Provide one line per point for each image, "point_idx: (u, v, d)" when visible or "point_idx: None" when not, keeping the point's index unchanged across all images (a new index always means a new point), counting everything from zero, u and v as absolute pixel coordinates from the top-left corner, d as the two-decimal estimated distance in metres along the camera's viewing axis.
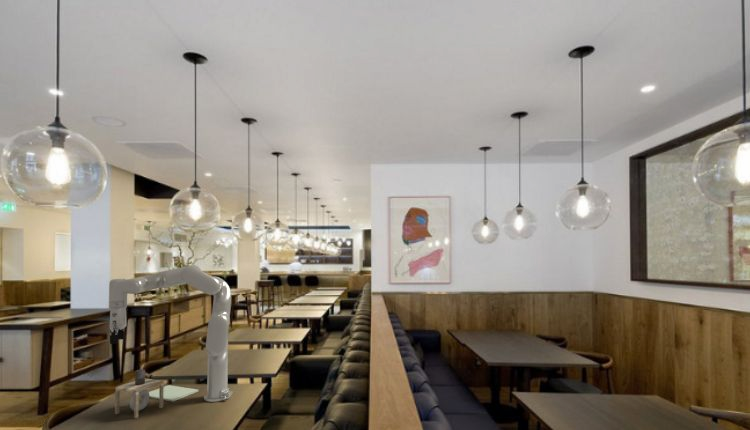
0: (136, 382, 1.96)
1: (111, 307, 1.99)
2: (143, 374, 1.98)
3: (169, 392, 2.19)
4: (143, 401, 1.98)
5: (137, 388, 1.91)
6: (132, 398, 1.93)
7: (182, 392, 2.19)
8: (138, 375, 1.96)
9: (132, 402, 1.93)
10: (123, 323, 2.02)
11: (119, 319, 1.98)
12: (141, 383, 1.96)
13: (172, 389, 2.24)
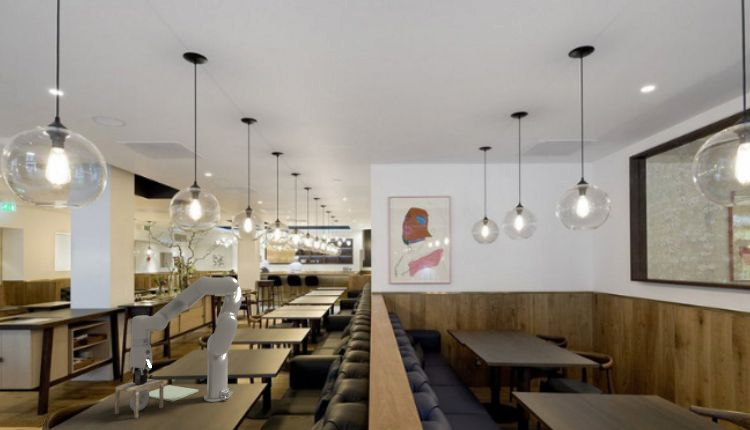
0: (136, 382, 1.96)
1: (142, 345, 1.96)
2: None
3: (169, 392, 2.19)
4: (143, 401, 1.98)
5: (137, 388, 1.91)
6: (132, 398, 1.93)
7: (182, 392, 2.19)
8: (138, 375, 1.96)
9: (132, 402, 1.93)
10: None
11: (151, 355, 1.99)
12: None
13: (172, 389, 2.24)
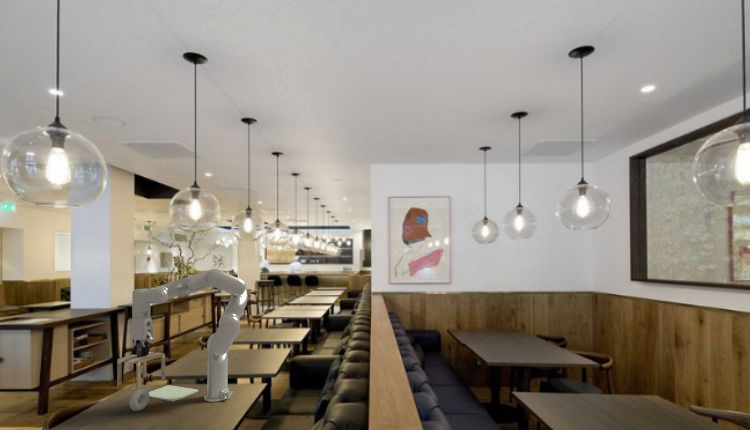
0: (138, 354, 1.97)
1: (142, 317, 1.97)
2: None
3: (169, 392, 2.19)
4: (143, 401, 1.98)
5: (139, 359, 1.92)
6: (132, 398, 1.93)
7: (182, 392, 2.19)
8: (139, 347, 1.97)
9: (132, 402, 1.93)
10: None
11: (152, 328, 2.00)
12: None
13: (172, 389, 2.24)
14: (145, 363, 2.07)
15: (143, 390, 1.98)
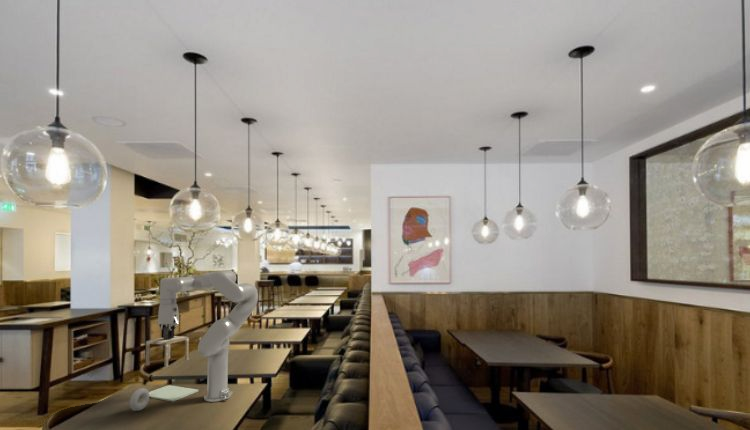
0: (164, 337, 2.17)
1: (170, 303, 2.17)
2: None
3: (169, 392, 2.19)
4: (143, 401, 1.98)
5: (166, 341, 2.12)
6: (132, 398, 1.93)
7: (182, 392, 2.19)
8: (166, 331, 2.17)
9: (132, 402, 1.93)
10: None
11: (178, 313, 2.20)
12: None
13: (172, 389, 2.24)
14: (169, 346, 2.26)
15: (143, 390, 1.98)
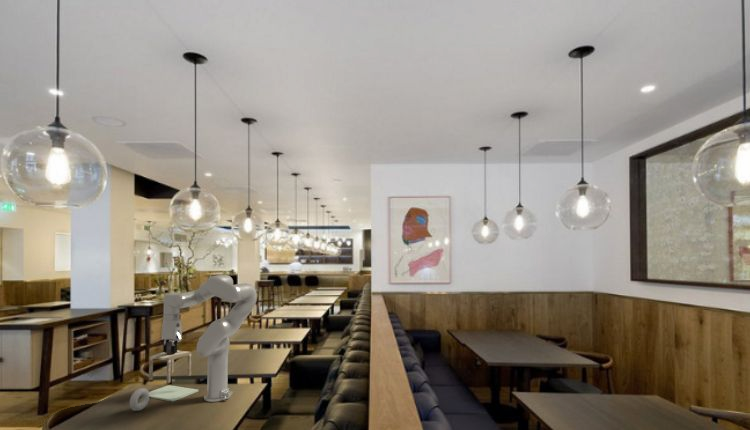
0: (167, 352, 2.19)
1: (173, 319, 2.19)
2: None
3: (169, 392, 2.19)
4: (143, 401, 1.98)
5: (169, 357, 2.14)
6: (132, 398, 1.93)
7: (182, 392, 2.19)
8: (169, 346, 2.19)
9: (132, 402, 1.93)
10: None
11: (181, 329, 2.22)
12: None
13: (172, 389, 2.24)
14: (172, 360, 2.29)
15: (143, 390, 1.98)
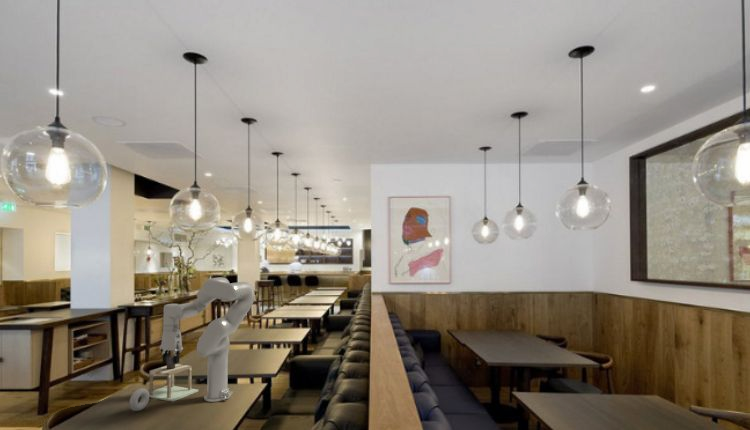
0: (168, 366, 2.19)
1: (172, 330, 2.19)
2: None
3: None
4: (143, 401, 1.98)
5: (169, 371, 2.14)
6: (132, 398, 1.93)
7: (182, 392, 2.19)
8: (169, 360, 2.19)
9: (132, 402, 1.93)
10: None
11: (181, 339, 2.21)
12: (172, 367, 2.19)
13: (172, 389, 2.24)
14: (173, 374, 2.28)
15: (143, 390, 1.98)
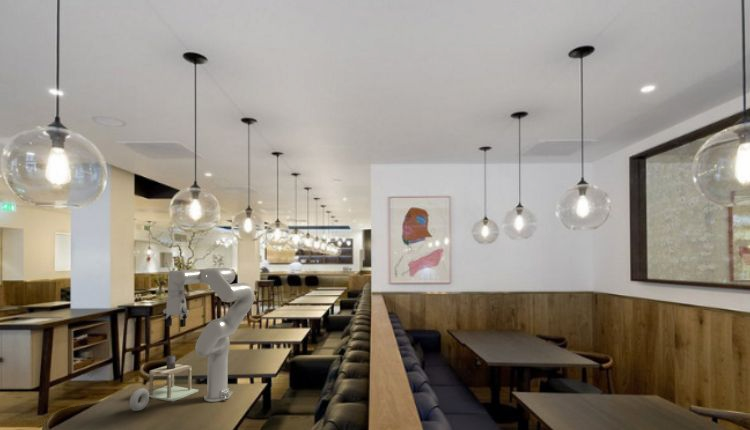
0: (168, 366, 2.19)
1: (178, 295, 2.23)
2: (174, 359, 2.20)
3: None
4: (143, 401, 1.98)
5: (169, 371, 2.14)
6: (132, 398, 1.93)
7: (182, 392, 2.19)
8: (169, 360, 2.19)
9: (132, 402, 1.93)
10: None
11: (185, 305, 2.26)
12: (172, 367, 2.19)
13: (172, 389, 2.24)
14: (173, 374, 2.28)
15: (143, 390, 1.98)
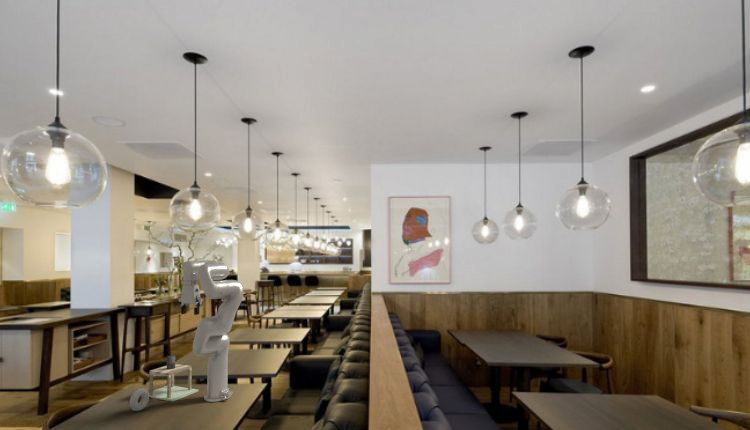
0: (168, 366, 2.19)
1: (192, 284, 2.34)
2: (174, 359, 2.20)
3: None
4: (143, 401, 1.98)
5: (169, 371, 2.14)
6: (132, 398, 1.93)
7: (182, 392, 2.19)
8: (169, 360, 2.19)
9: (132, 402, 1.93)
10: None
11: (199, 294, 2.37)
12: (172, 367, 2.19)
13: (172, 389, 2.24)
14: (173, 374, 2.28)
15: (143, 390, 1.98)
